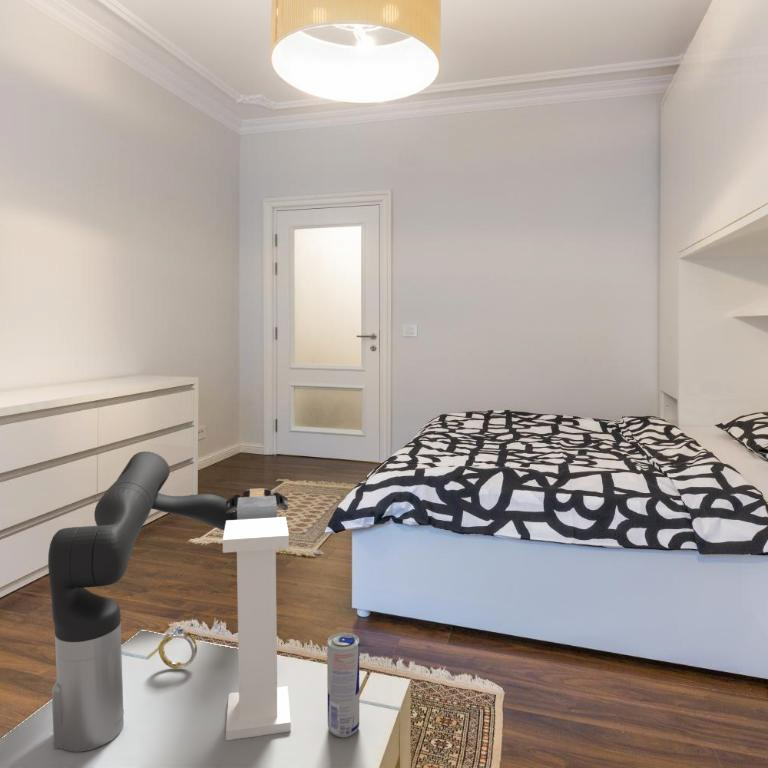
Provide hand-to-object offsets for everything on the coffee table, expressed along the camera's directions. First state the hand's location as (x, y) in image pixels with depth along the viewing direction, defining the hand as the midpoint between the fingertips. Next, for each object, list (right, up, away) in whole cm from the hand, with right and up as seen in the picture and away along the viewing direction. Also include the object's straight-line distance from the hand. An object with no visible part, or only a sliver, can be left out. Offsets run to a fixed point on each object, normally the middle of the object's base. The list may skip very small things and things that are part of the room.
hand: (256, 493), depth 116 cm
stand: (+5, -33, -21) cm, 39 cm away
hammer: (+1, -4, -4) cm, 6 cm away
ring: (-14, -32, -7) cm, 36 cm away
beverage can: (+19, -34, -24) cm, 45 cm away
